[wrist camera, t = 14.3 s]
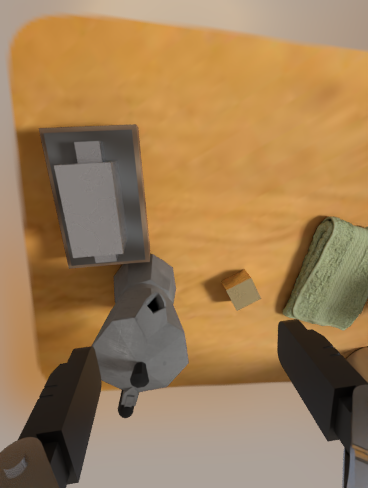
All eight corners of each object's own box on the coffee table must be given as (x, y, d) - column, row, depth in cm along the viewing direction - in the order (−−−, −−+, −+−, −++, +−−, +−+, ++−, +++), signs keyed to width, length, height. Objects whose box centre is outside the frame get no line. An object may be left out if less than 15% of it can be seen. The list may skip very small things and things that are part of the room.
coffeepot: (122, 233, 36) (95, 306, 19) (187, 248, 38) (216, 326, 21) (102, 325, 40) (66, 451, 23) (161, 335, 42) (167, 457, 25)
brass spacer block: (253, 288, 41) (261, 298, 38) (231, 300, 42) (236, 310, 39) (244, 268, 40) (251, 277, 37) (220, 280, 40) (226, 290, 37)
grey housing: (115, 141, 28) (107, 138, 23) (129, 253, 32) (125, 271, 27) (66, 143, 27) (48, 141, 23) (88, 257, 32) (76, 275, 27)
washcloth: (276, 312, 44) (285, 324, 41) (318, 212, 38) (333, 217, 35) (342, 324, 46) (356, 336, 43) (391, 230, 41) (409, 236, 38)
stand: (150, 250, 37) (149, 262, 33) (77, 256, 36) (68, 269, 32) (138, 127, 32) (135, 124, 27) (52, 131, 31) (37, 127, 27)
